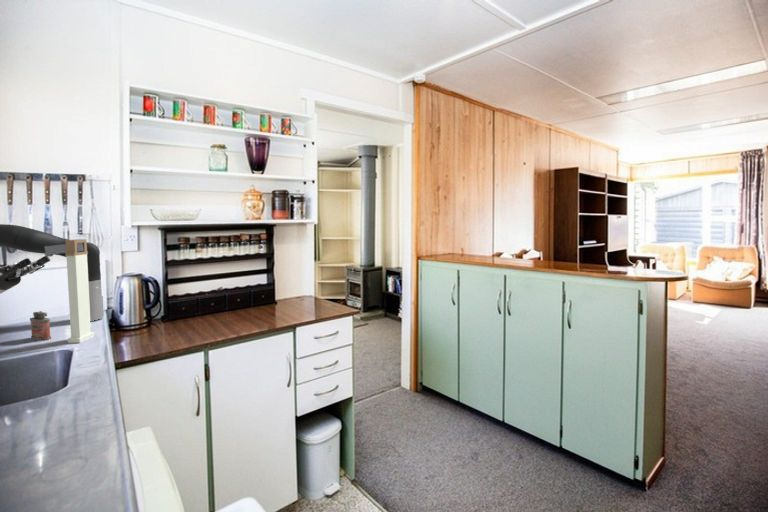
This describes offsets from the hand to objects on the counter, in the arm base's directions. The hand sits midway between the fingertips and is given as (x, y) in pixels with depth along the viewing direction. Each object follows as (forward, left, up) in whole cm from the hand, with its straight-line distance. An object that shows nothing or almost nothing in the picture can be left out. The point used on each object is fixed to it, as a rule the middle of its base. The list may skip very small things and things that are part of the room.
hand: (39, 259), depth 144 cm
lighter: (-1, -2, -29) cm, 30 cm away
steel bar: (0, +9, +2) cm, 9 cm away
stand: (0, +13, -29) cm, 32 cm away
